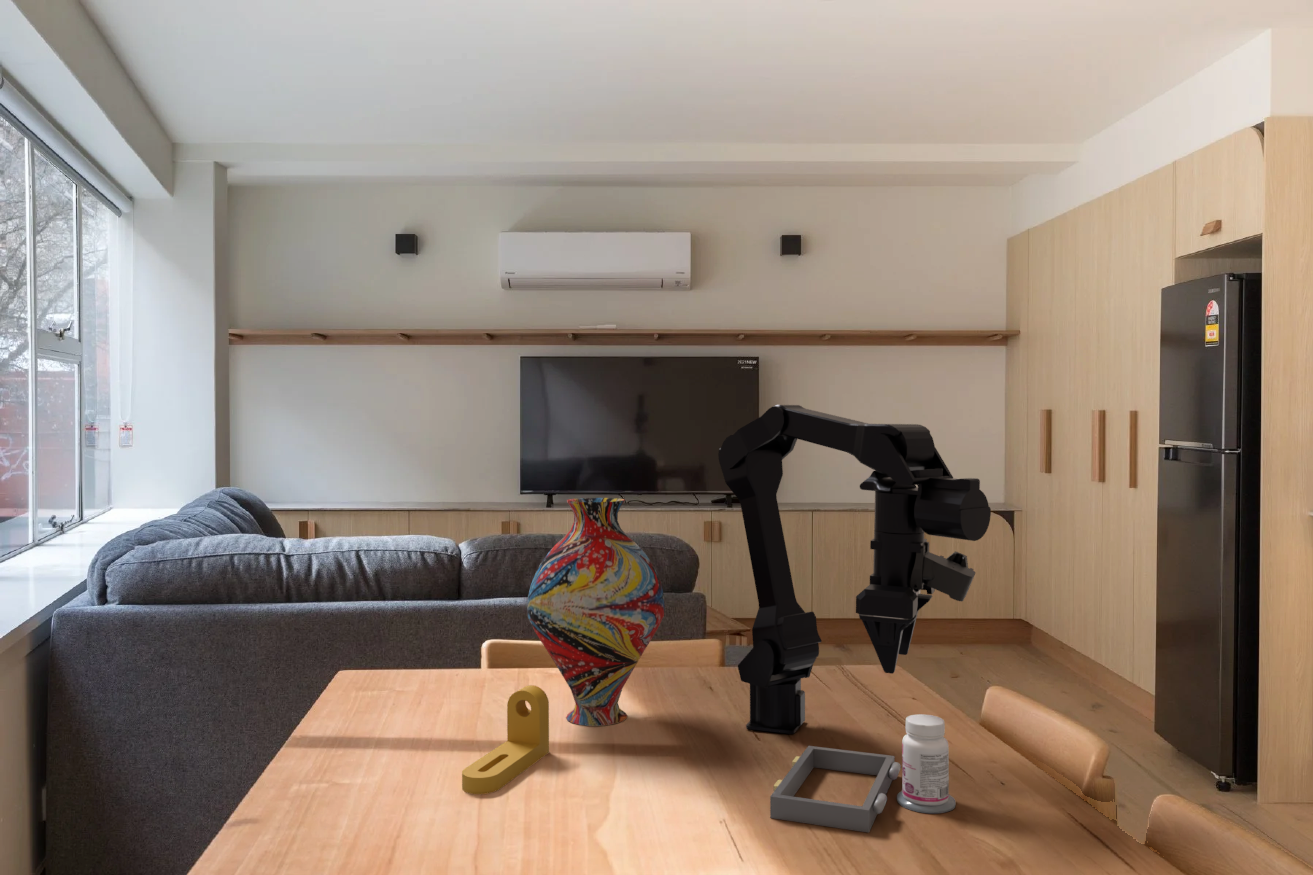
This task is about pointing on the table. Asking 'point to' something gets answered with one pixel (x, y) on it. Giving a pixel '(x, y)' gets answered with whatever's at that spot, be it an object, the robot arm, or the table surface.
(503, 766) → the bracket
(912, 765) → the pill bottle
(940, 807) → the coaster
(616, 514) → the vase
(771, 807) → the gray rectangular frame
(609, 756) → the table surface
